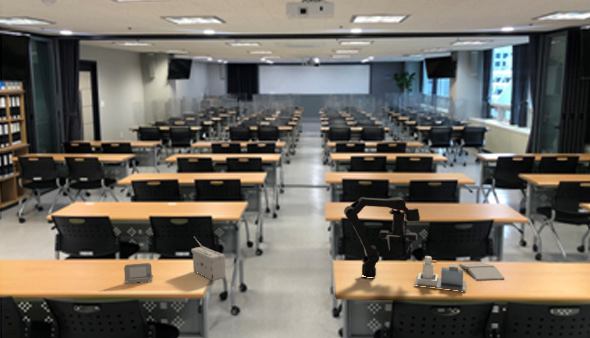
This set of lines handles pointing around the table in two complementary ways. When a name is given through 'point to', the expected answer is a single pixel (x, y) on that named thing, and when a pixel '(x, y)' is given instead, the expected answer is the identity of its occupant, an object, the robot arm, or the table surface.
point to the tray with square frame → (445, 279)
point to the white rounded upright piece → (428, 268)
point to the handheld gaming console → (138, 273)
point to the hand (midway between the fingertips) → (397, 251)
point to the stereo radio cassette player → (208, 263)
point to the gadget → (482, 271)
